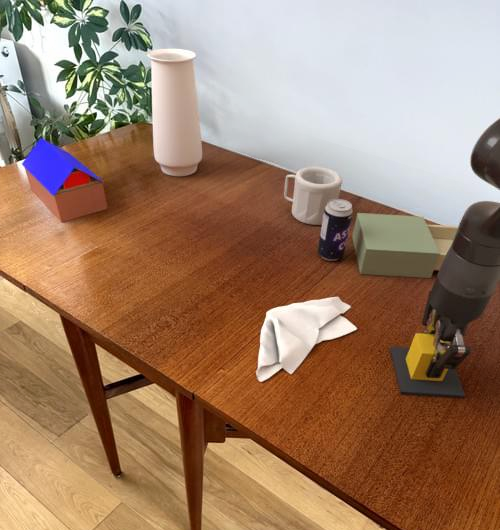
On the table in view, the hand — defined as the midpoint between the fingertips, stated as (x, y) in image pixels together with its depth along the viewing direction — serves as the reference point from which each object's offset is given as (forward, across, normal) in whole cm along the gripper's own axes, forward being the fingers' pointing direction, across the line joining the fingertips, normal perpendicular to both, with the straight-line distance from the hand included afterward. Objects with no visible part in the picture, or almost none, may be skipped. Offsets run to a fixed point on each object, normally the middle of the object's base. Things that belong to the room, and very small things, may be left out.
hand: (428, 364), depth 75 cm
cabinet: (+2, +34, 0) cm, 34 cm away
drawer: (+1, +34, -14) cm, 37 cm away
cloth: (+2, +8, +21) cm, 23 cm away
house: (+2, +51, +76) cm, 92 cm away
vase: (+2, +72, +52) cm, 89 cm away
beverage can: (+2, +33, +13) cm, 36 cm away
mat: (+2, 0, 0) cm, 2 cm away
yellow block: (+1, 0, 0) cm, 1 cm away
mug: (+2, +51, +17) cm, 54 cm away
